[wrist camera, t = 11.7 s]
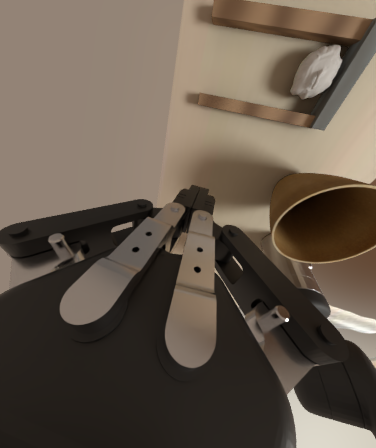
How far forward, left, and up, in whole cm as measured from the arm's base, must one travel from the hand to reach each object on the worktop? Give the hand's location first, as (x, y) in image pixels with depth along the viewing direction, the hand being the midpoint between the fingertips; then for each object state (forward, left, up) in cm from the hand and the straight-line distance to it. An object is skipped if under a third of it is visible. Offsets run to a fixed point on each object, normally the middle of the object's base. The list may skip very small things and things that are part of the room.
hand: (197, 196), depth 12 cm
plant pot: (-20, +5, -25) cm, 32 cm away
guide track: (-6, -12, -25) cm, 28 cm away
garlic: (-12, -12, -25) cm, 30 cm away
